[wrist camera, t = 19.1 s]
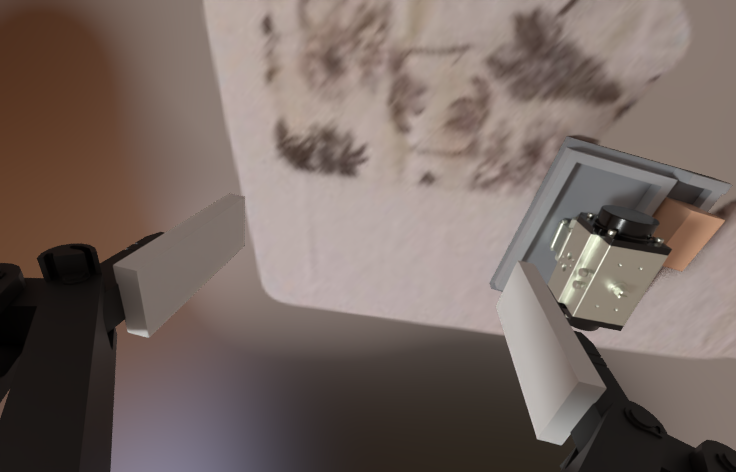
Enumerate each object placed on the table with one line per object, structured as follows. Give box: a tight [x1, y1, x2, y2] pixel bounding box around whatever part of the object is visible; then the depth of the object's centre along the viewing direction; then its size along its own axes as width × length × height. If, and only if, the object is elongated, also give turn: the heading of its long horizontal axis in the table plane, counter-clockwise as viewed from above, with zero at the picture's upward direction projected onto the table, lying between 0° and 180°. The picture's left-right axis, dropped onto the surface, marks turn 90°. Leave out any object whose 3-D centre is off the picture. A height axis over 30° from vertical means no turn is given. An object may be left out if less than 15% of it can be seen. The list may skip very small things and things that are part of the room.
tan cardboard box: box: [652, 197, 725, 271], centre depth 34 cm, size 6×3×4 cm, turn 166°
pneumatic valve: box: [547, 205, 672, 331], centre depth 33 cm, size 6×12×12 cm, turn 173°
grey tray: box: [490, 136, 732, 292], centre depth 38 cm, size 20×16×4 cm
